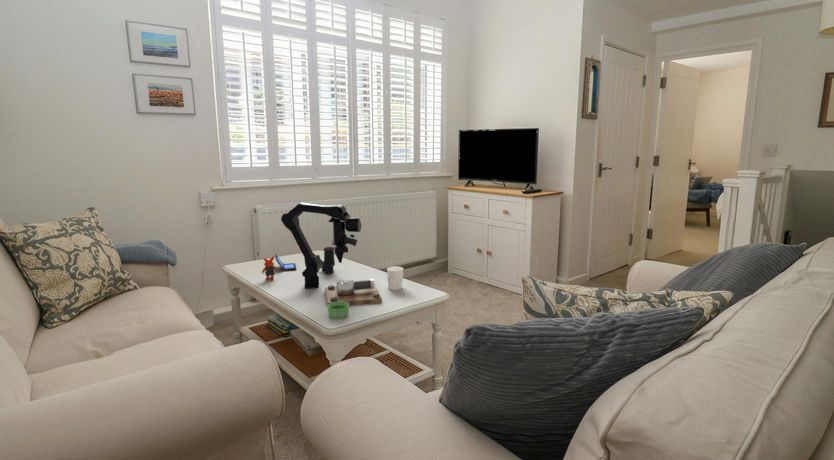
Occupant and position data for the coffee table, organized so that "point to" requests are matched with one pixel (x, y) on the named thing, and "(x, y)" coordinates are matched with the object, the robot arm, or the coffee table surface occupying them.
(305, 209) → the robot arm
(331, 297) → the base plate
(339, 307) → the ramekin
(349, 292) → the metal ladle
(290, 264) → the handheld game console
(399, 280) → the white cup
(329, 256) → the scope
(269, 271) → the toy animal
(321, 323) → the coffee table surface
